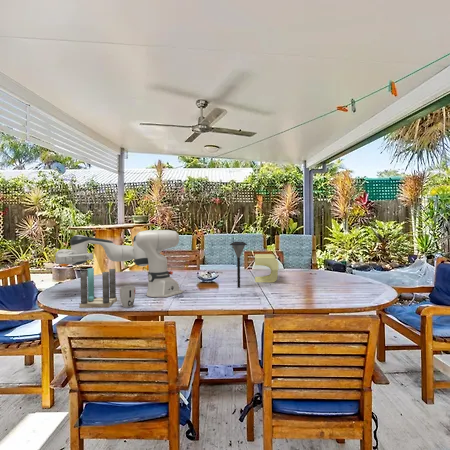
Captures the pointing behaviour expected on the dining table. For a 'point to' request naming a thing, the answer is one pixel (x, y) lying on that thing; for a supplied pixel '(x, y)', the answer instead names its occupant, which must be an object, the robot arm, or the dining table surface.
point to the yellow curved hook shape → (267, 261)
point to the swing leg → (90, 284)
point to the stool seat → (105, 300)
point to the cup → (127, 296)
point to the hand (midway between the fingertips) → (80, 258)
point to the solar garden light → (238, 257)
